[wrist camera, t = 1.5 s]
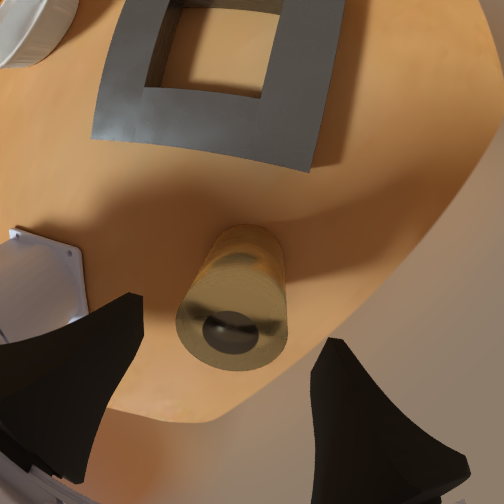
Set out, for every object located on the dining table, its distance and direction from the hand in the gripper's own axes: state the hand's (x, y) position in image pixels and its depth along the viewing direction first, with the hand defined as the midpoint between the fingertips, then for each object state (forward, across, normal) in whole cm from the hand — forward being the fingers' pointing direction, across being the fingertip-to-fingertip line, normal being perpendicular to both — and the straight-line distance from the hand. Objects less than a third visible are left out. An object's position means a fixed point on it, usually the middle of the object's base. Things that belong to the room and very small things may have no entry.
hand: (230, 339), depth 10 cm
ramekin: (+8, +20, -16) cm, 27 cm away
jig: (+7, +4, -12) cm, 15 cm away
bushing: (+7, 0, 0) cm, 7 cm away
